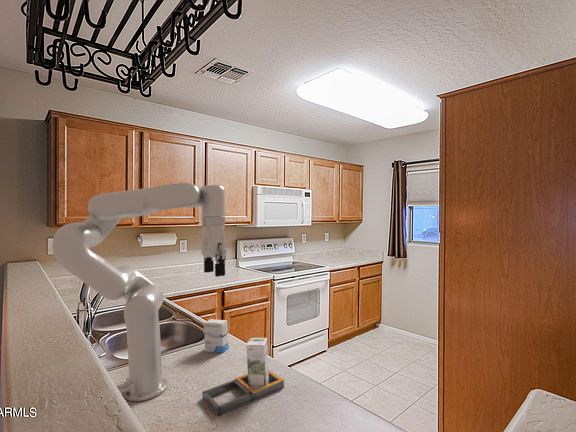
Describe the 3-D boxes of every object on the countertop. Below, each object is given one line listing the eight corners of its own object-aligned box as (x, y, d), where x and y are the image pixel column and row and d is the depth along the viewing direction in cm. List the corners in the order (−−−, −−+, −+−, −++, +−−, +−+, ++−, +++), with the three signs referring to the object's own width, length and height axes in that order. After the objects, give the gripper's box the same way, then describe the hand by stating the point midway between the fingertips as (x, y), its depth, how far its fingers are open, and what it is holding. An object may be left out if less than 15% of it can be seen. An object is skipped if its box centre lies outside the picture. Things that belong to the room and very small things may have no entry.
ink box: (229, 348, 130) (227, 319, 130) (222, 353, 126) (221, 323, 126) (211, 346, 133) (209, 318, 133) (204, 351, 128) (203, 322, 129)
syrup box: (269, 381, 102) (267, 336, 102) (266, 391, 96) (264, 344, 96) (252, 381, 103) (249, 337, 103) (248, 391, 97) (245, 344, 97)
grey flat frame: (217, 416, 85) (217, 407, 85) (202, 398, 94) (202, 390, 94) (283, 387, 98) (283, 379, 98) (265, 374, 107) (264, 367, 107)
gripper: (193, 222, 110) (194, 271, 110) (212, 222, 96) (213, 279, 96) (214, 222, 115) (215, 269, 114) (235, 222, 100) (236, 276, 100)
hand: (214, 273), depth 105 cm, fingers open, 9 cm apart
